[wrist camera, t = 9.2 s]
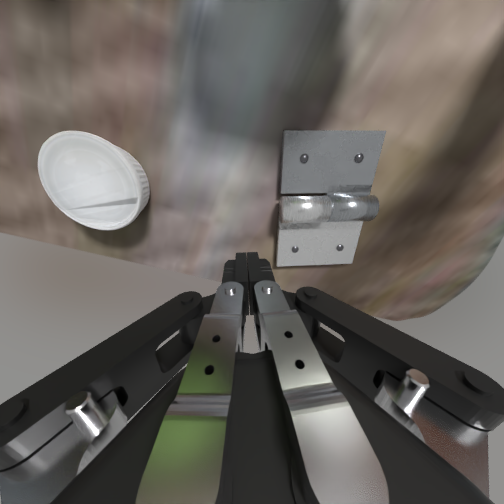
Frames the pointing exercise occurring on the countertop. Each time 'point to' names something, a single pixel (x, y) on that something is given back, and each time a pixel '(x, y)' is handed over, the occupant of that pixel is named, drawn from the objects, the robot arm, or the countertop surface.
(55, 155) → the ramekin
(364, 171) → the fixed leaf
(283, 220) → the loose leaf
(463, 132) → the countertop surface
